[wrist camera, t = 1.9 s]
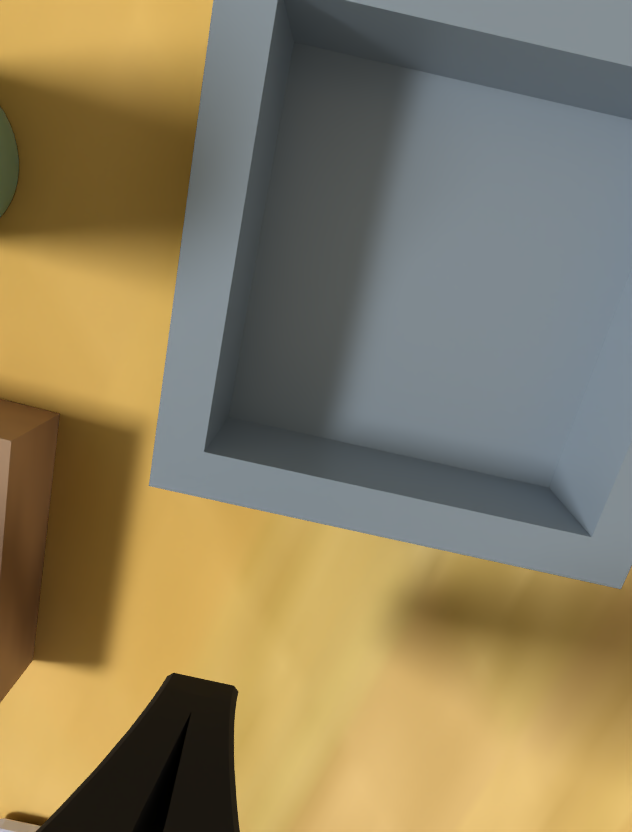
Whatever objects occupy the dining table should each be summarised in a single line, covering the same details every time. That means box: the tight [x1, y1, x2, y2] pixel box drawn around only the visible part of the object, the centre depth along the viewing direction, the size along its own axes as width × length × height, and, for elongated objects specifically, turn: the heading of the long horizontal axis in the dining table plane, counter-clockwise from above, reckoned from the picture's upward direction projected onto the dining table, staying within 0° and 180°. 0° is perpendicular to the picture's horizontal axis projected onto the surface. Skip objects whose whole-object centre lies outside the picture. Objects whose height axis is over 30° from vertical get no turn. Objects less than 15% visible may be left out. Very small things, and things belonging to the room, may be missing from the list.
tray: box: [149, 0, 632, 589], centre depth 11 cm, size 10×10×3 cm
